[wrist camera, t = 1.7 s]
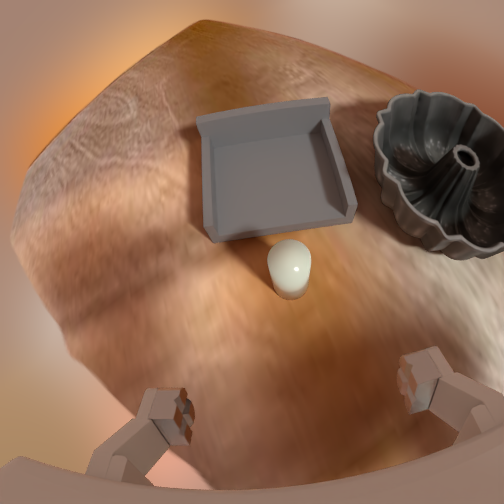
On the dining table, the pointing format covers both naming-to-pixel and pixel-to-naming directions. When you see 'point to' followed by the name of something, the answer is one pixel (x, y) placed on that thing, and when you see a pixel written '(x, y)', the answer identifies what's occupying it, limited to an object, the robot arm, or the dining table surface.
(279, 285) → the dome-topped cream cylinder
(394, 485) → the robot arm
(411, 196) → the bundt pan
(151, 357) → the dining table surface
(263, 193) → the grey open tray
